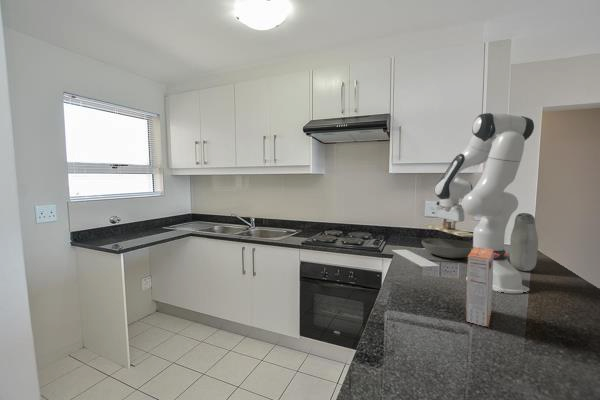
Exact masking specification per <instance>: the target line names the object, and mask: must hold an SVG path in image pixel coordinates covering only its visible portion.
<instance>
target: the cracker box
mask: <svg viewBox="0 0 600 400" xmlns="http://www.w3.org/2000/svg"><path fill="white" fill-rule="evenodd" d="M493 254H494V250H493V249H486V248H479V247H474V248H473V249H472V251H471V252H470V254H469V255H468V256H467V271H466V272H467V273H466V275H467V276H466V277H467V280H466V315H465V316H466V319H465V320H466V321H467V322H470V323H469V324H471V323H474V324H473V325H475V324H477V325H476V326H479V325H482V326H487V327H488V328H489V326H490V325H489V324H490V320H491V317H490V316H492V312H491V311H492V309H493V290H492V288H493ZM467 322H466V323H467ZM482 326H481V327H482Z"/></svg>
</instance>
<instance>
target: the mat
mask: <svg viewBox="0 0 600 400" xmlns="http://www.w3.org/2000/svg"><path fill="white" fill-rule="evenodd" d="M391 251H392V252H394V253H395V254H397V255H400V256H401V257H403V258H405V259H407V260H409V261H410V262H412V263H414V264H416V265H418V266H419V267H439V266H440V265H439V264H438V263H435V262H433V261H431V260H428V259H427V258H425V257H423V256H420V255H418V254H416V253H414V252H412V251H410V250H408V249H391Z"/></svg>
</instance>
